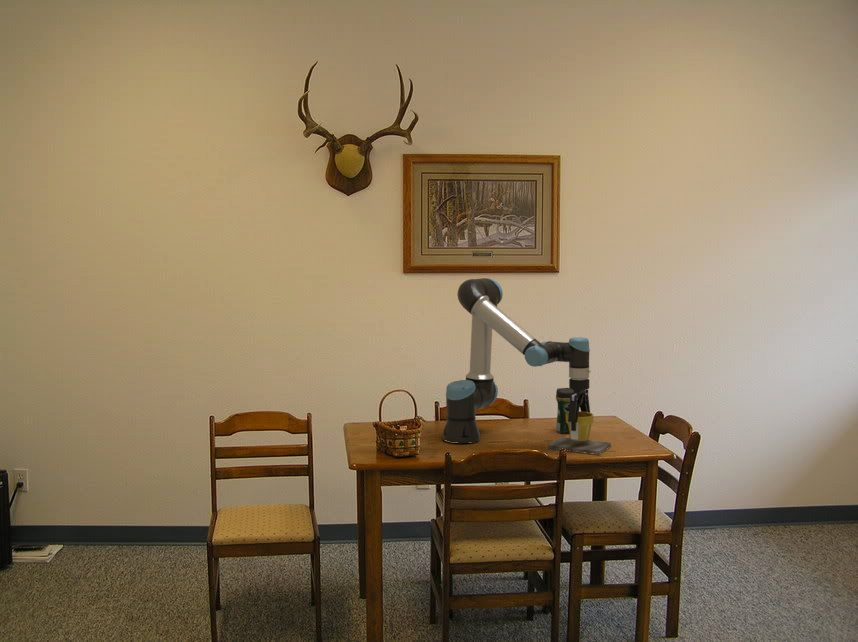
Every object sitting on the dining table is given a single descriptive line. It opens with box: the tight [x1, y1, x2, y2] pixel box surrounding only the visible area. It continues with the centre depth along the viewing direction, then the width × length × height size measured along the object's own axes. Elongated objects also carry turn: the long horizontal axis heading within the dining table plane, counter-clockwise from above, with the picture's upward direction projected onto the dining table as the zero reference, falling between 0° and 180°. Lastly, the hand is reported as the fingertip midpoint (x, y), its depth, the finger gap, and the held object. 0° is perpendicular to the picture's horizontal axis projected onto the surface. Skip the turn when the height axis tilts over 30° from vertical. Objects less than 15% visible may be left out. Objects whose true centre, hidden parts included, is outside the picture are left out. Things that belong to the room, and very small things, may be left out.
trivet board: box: [547, 436, 612, 455], centre depth 275 cm, size 20×14×2 cm
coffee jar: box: [555, 387, 574, 434], centre depth 299 cm, size 10×8×19 cm
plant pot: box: [566, 410, 594, 441], centre depth 274 cm, size 10×10×10 cm
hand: (579, 435), depth 274 cm, fingers closed on plant pot, 10 cm apart
